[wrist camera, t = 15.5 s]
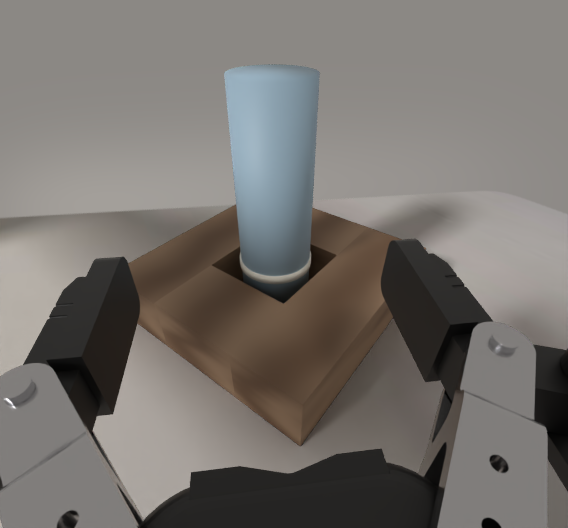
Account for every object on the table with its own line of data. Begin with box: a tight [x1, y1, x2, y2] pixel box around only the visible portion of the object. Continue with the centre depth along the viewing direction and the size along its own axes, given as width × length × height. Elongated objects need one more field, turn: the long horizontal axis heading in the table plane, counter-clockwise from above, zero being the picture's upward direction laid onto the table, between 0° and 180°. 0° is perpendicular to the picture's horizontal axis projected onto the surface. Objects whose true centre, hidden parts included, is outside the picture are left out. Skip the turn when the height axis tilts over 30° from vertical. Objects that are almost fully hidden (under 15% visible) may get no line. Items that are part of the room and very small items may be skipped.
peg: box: [224, 65, 320, 304], centre depth 23 cm, size 5×5×16 cm
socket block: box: [128, 205, 426, 446], centre depth 27 cm, size 16×16×4 cm
